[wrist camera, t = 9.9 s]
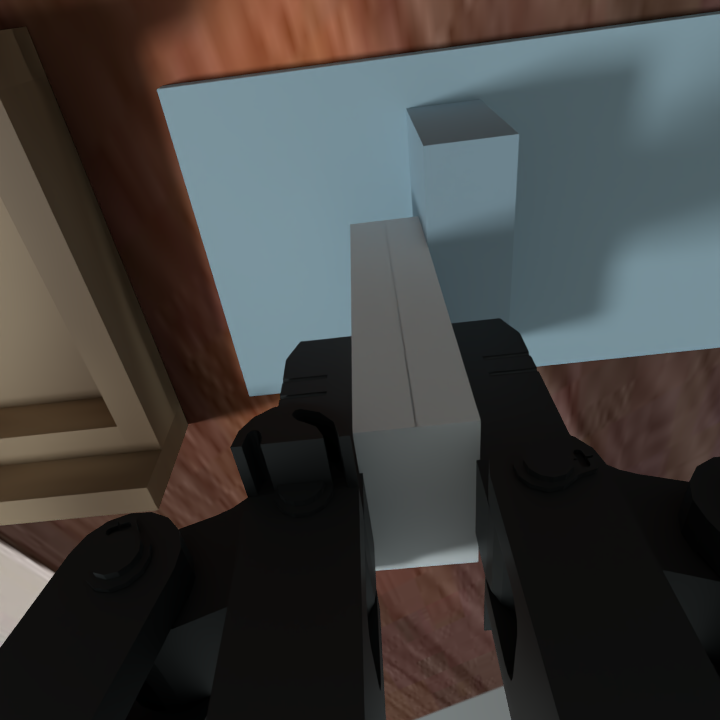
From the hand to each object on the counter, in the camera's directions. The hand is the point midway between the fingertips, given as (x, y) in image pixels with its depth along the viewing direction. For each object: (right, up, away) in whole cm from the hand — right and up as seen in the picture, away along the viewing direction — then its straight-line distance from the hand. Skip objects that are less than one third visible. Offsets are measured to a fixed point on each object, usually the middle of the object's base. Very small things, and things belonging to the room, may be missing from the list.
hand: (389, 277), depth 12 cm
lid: (+2, +2, +2) cm, 3 cm away
